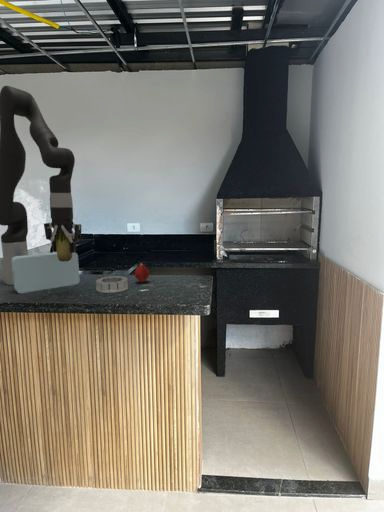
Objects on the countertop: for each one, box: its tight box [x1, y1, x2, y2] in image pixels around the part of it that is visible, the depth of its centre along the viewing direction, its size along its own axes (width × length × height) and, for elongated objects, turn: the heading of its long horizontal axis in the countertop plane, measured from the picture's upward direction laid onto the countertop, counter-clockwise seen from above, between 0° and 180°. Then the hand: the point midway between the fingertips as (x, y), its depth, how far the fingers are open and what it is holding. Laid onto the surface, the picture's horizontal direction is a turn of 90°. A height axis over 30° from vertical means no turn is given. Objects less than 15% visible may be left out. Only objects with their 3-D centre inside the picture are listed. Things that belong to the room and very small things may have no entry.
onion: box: [134, 263, 150, 283], centre depth 139 cm, size 6×6×8 cm
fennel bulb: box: [56, 230, 72, 261], centre depth 123 cm, size 6×5×12 cm
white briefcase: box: [11, 251, 81, 294], centre depth 133 cm, size 23×6×13 cm, turn 126°
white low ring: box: [95, 275, 129, 294], centre depth 131 cm, size 12×12×4 cm
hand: (64, 251), depth 124 cm, fingers closed on fennel bulb, 6 cm apart
